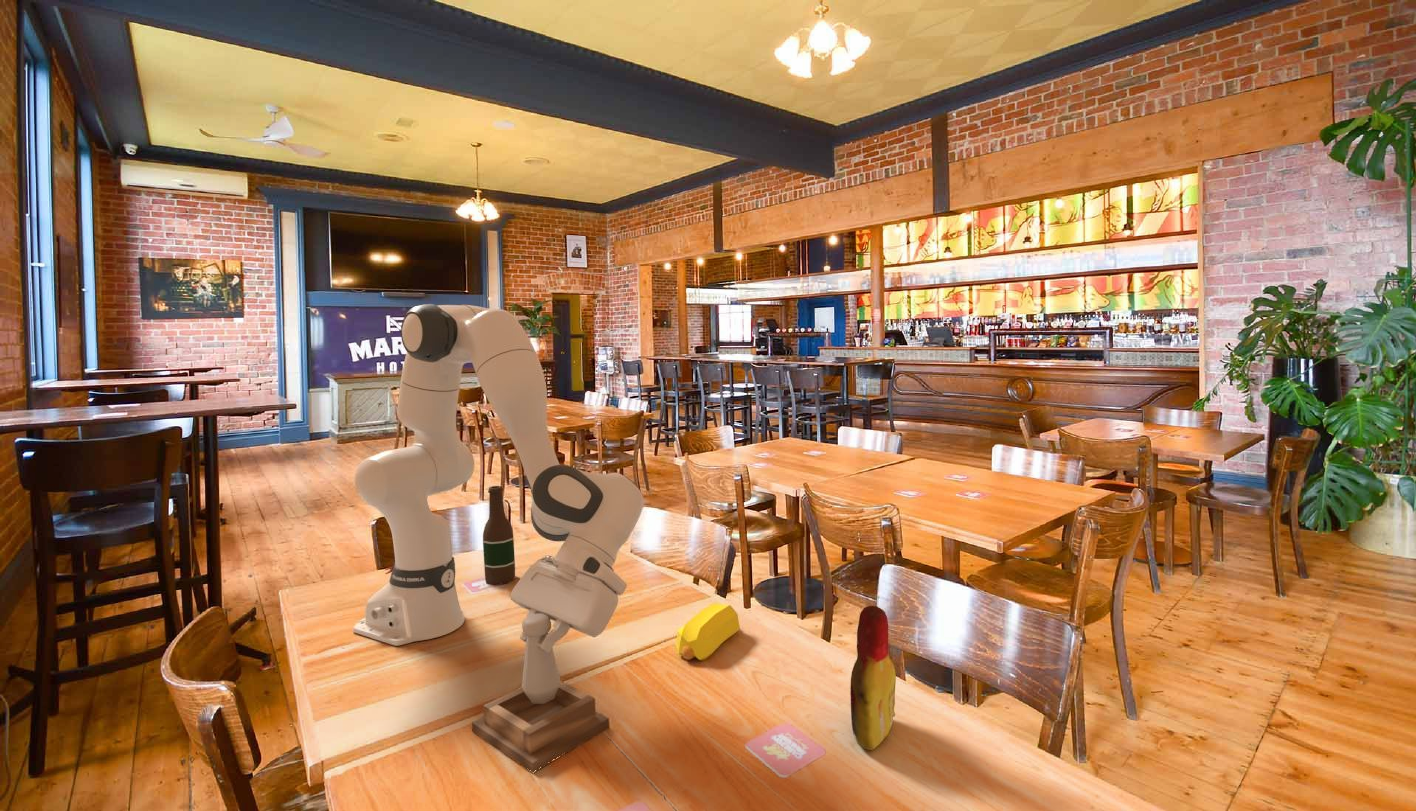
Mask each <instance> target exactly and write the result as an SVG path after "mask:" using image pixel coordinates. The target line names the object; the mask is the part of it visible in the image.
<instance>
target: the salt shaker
mask: <svg viewBox="0 0 1416 811" xmlns="http://www.w3.org/2000/svg"><path fill="white" fill-rule="evenodd" d="M551 621H552V620H551V619H550V617H549V616H547V615H546V614H542V613H538V614H533V615H530V616H528V617H527V616H526V617H525V618H524V619H523V620H522V622H521V623H522V624H521V626H522V627H521V628H522V632H523V633H524V635H526V636H527V638H526V642H525V649H524V650H525V651H524V659H523V668H522V669H523V670H522V680H521V681H522V682H521V687H522V688H523V691H524V693H525V694H526V695H527V697H528V698H529V699H530V701H531V702H532V704H545V703H547V702H549V701H551V700H553V699H554V698H555V695H556V692H557V690H558V688H559V685H560V681H562V680H561V677H560V676H561V675H560V673H559V668H558V665H557V660H556V658H555V653H554V651H553V648H552V649H551V650H550V652H545V651H543V650H542V649H540V648H539V647H537V643H538V642H539V641H540V638H541V636H542V635H543V636H546V635H547V634H548V633H549V632H550V631H551V630H552V622H551Z"/></svg>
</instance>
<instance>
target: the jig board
mask: <svg viewBox="0 0 1416 811" xmlns="http://www.w3.org/2000/svg"><path fill="white" fill-rule="evenodd" d="M609 728H610V718H609V717H608V716H606V715H604V714H602V713H600V712H598V711H596V698H595V697H593V696H591V695H589V694H588V693H585V692H583V691H581V690H579V689H577V688H576V687H574V686H572V685H570V684H568V683H566V682H564V681H562V680H561V681H560V685H559V688H558V690H557V692H556V695H555V698H554V699H553V700H551V701H549V702H547V703H545V704H532V702H531V701H530V699H529V698H528V697H527V695H526V694H525V693H524V691H523V688H522V686H521V687H519V688H517V689H515V690H512V691H510V692H508V693H506V694H504V695H502V696H500V697H498V698H496V699H494V700H492V701H489V702H487V703H486V704H484V705H483V716H482V717H480V718H479V717H478V718H477V719H475V720H473V721H471V731H472V733H474V734H475V735H477V736H478V737H480V738H481V739H483V740H484V741H486V742H487V743H489V744H490V745H492V747H494V748H496V749H498V751H500V752H502V753H503V754H505V755H506V756H507V757H509V758H511V760H513V759H514V760H513V761H515V762H516V761H517V762H516V763H518V762H519V763H520V764H519V763H518V764H519V765H520V766H522V765H523V767H524V768H525V767H526V768H528V769H529V770H531V771H532V772H534V771H535V770H538V769H539V768H540V767H543V766H544V765H546V764H548V762H551V761H552V760H553V759H556V758H557V757H559V756H561V755H562V754H564V753H566V754H567V752H568V751H569V752H571V751H573V750H574V749H576V748H577V747H579V746H581V745H582V744H584V743H586V742H587V741H589V740H591V739H593V738H594V737H596V736H597V735H599V734H600V733H602V732H604V731H605V730H607V729H609ZM578 745H579V746H578ZM572 749H573V750H572ZM570 750H571V751H570ZM569 752H568V753H569ZM564 755H565V754H564ZM561 757H562V756H561ZM559 758H560V757H559ZM556 760H557V759H556ZM551 763H552V762H551ZM548 765H549V764H548ZM546 766H547V765H546ZM544 767H545V766H544ZM544 767H543V768H544ZM526 768H525V769H526ZM528 769H527V770H528ZM529 770H528V771H529ZM539 770H540V769H539ZM539 770H538V771H539ZM531 771H530V772H531ZM532 772H531V773H532ZM534 773H535V772H534Z"/></svg>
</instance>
